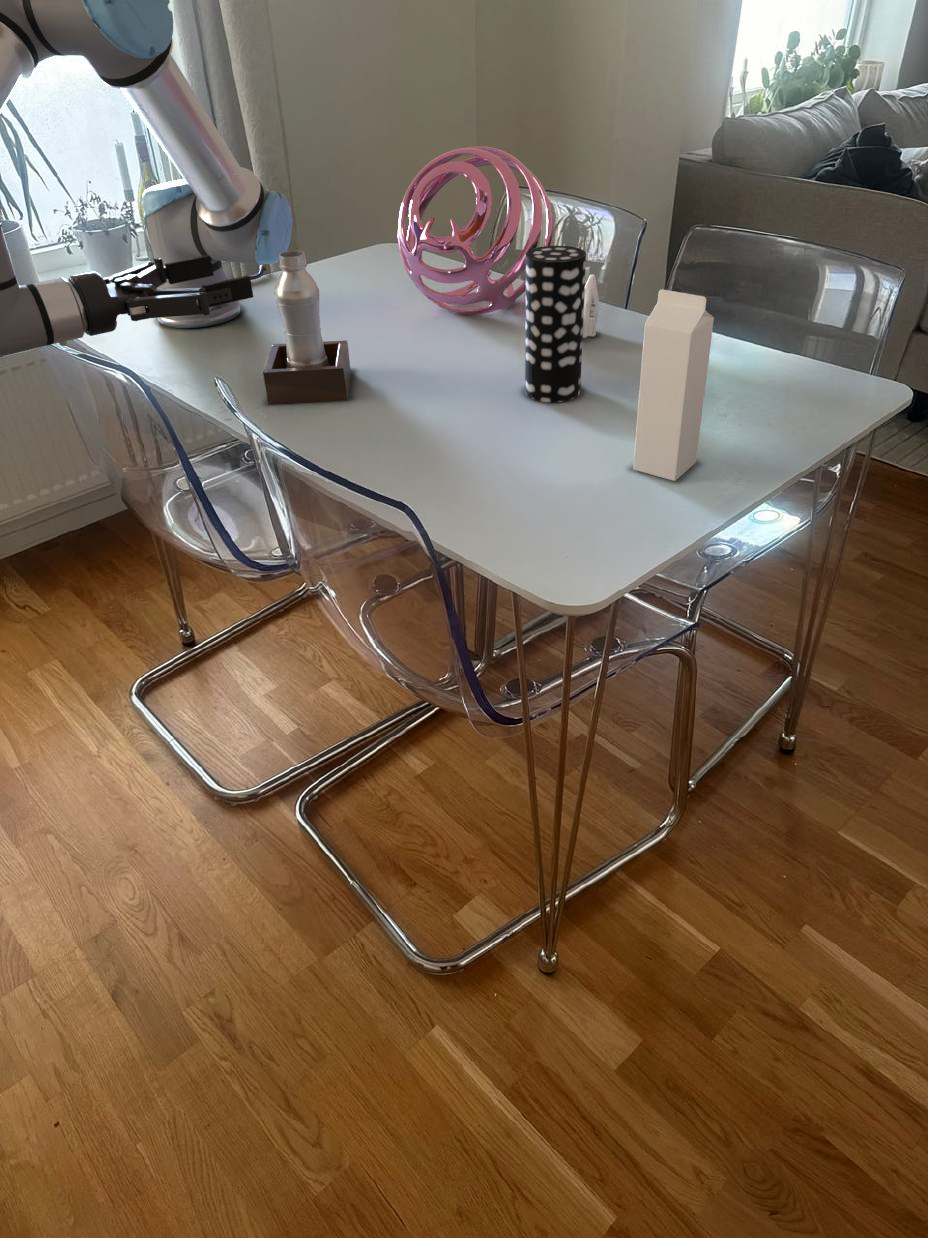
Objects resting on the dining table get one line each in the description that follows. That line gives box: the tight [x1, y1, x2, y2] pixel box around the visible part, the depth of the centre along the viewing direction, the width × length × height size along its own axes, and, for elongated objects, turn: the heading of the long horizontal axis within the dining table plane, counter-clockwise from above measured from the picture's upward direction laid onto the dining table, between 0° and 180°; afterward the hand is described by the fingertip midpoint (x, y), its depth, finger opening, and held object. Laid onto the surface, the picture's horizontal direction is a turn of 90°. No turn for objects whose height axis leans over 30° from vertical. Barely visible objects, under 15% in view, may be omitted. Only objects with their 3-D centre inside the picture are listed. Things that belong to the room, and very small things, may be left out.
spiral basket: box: [397, 145, 554, 316], centre depth 165 cm, size 28×28×27 cm
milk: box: [632, 288, 715, 482], centre depth 111 cm, size 6×6×22 cm
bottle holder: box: [262, 339, 351, 405], centre depth 142 cm, size 12×12×5 cm
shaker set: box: [583, 273, 600, 339], centre depth 152 cm, size 12×4×11 cm, turn 133°
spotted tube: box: [524, 245, 587, 403], centre depth 133 cm, size 8×8×20 cm
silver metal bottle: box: [273, 250, 330, 368], centre depth 137 cm, size 6×7×20 cm
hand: (230, 275), depth 128 cm, fingers open, 13 cm apart
